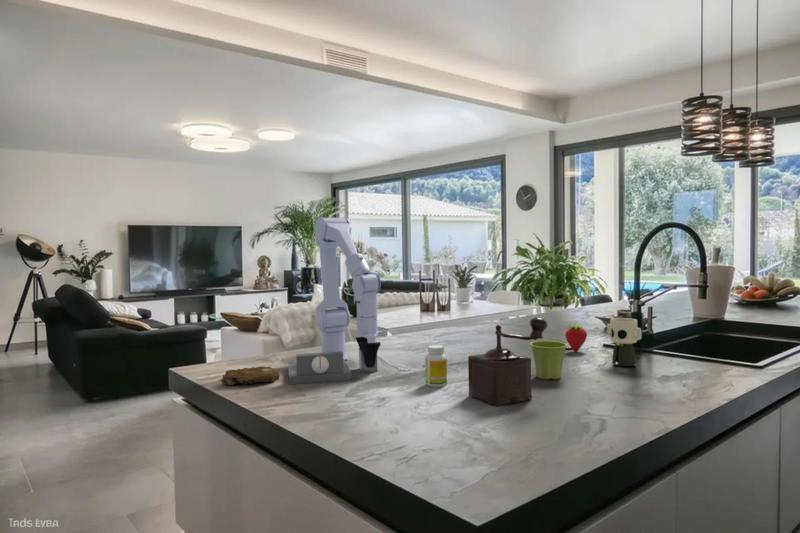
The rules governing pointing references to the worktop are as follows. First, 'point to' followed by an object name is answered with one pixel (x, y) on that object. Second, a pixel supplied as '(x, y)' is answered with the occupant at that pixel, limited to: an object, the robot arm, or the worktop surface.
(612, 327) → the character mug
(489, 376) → the manual coffee grinder
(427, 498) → the worktop surface
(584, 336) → the strawberry
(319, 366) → the scale
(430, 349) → the supplement bottle
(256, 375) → the decorative rock
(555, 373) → the plant pot
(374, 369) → the block
